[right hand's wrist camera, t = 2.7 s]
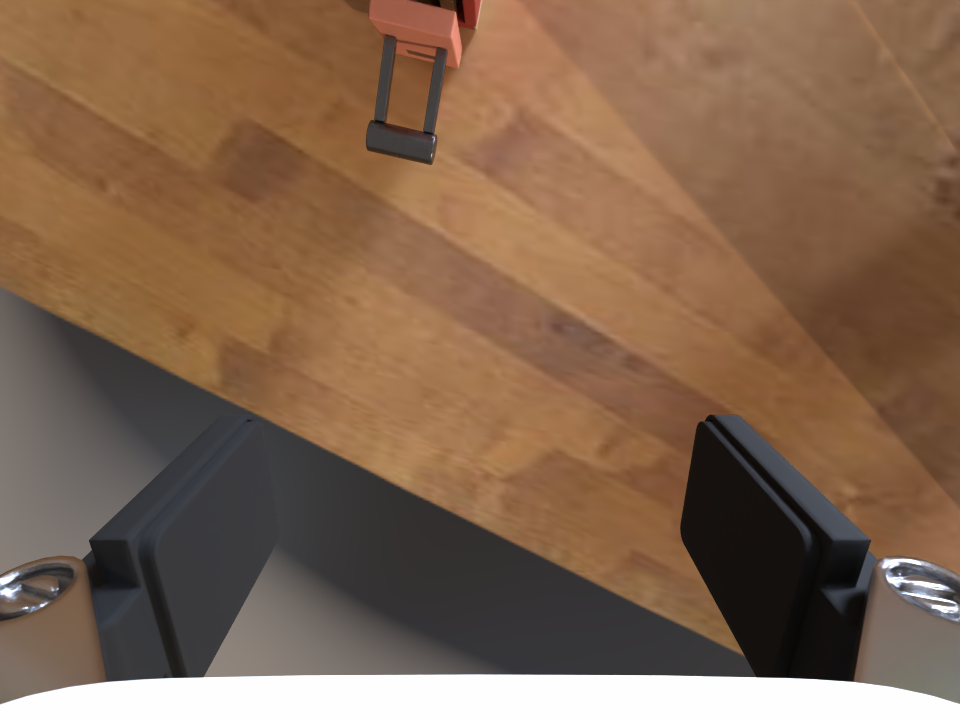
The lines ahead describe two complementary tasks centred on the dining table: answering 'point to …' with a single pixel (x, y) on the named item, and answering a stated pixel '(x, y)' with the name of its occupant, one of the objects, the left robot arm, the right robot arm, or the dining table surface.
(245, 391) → the dining table surface
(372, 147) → the drawer
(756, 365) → the dining table surface
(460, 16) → the cabinet
